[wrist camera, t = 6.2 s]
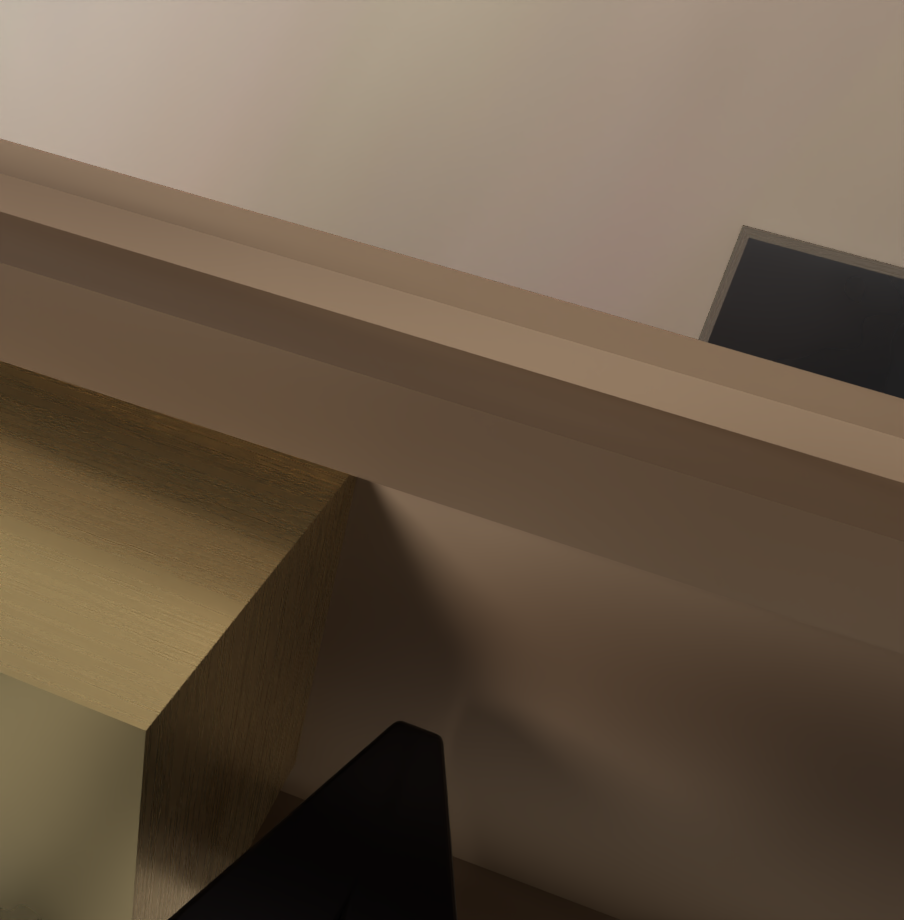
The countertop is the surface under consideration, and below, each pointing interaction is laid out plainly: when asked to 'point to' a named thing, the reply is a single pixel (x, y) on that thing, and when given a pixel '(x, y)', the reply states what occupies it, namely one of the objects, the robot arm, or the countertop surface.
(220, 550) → the block
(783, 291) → the trestle
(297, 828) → the robot arm
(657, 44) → the countertop surface
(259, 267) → the beam
